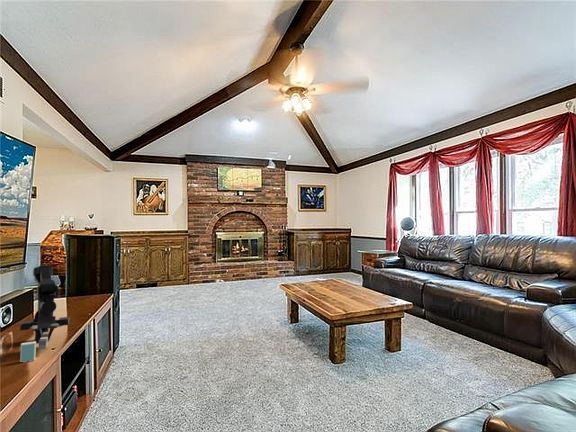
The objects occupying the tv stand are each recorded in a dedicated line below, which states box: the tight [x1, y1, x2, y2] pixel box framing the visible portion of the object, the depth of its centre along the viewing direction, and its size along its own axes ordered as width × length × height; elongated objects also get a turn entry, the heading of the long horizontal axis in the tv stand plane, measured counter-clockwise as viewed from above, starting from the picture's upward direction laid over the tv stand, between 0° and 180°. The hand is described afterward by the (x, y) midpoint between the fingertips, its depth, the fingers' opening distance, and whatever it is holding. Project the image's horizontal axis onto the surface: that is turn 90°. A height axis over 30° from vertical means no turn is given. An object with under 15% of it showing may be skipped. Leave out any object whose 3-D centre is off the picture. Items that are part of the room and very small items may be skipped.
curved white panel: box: [38, 332, 50, 351], centre depth 155 cm, size 14×3×4 cm, turn 31°
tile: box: [19, 341, 37, 363], centre depth 144 cm, size 2×5×8 cm, turn 121°
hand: (44, 341), depth 157 cm, fingers closed on curved white panel, 3 cm apart
